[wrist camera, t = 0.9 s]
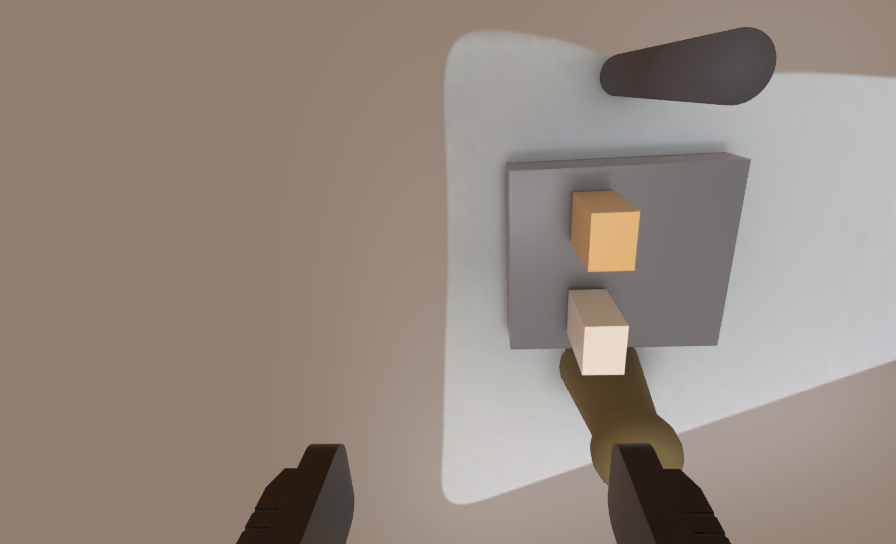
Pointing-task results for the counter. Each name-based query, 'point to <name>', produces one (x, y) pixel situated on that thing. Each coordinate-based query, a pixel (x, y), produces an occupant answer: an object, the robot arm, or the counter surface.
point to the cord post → (695, 69)
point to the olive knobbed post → (619, 412)
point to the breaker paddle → (604, 231)
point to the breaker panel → (657, 256)
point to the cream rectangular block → (597, 332)
